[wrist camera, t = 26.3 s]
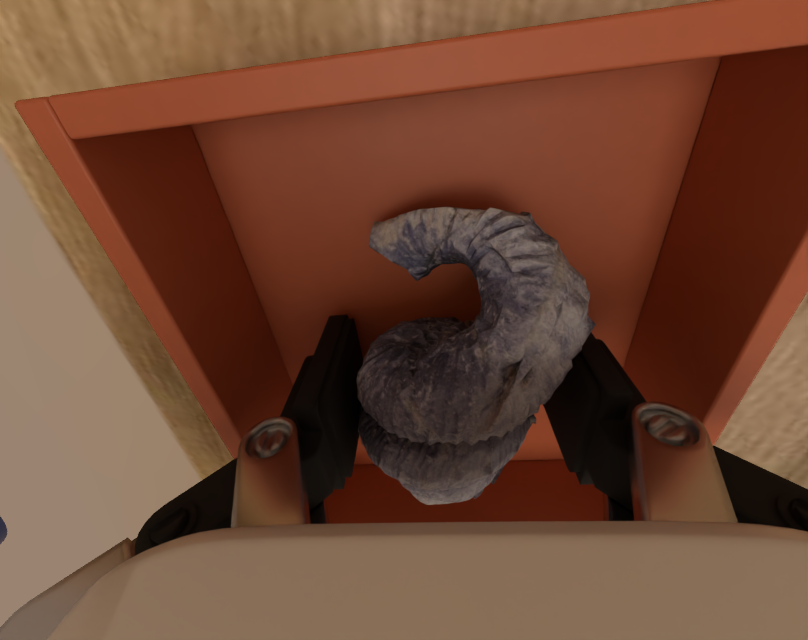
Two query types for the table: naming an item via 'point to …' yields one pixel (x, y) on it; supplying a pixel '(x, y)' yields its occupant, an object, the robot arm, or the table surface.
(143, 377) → the table surface
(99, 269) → the table surface
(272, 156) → the terracotta bin
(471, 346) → the grey curved ribbed piece
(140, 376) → the table surface
